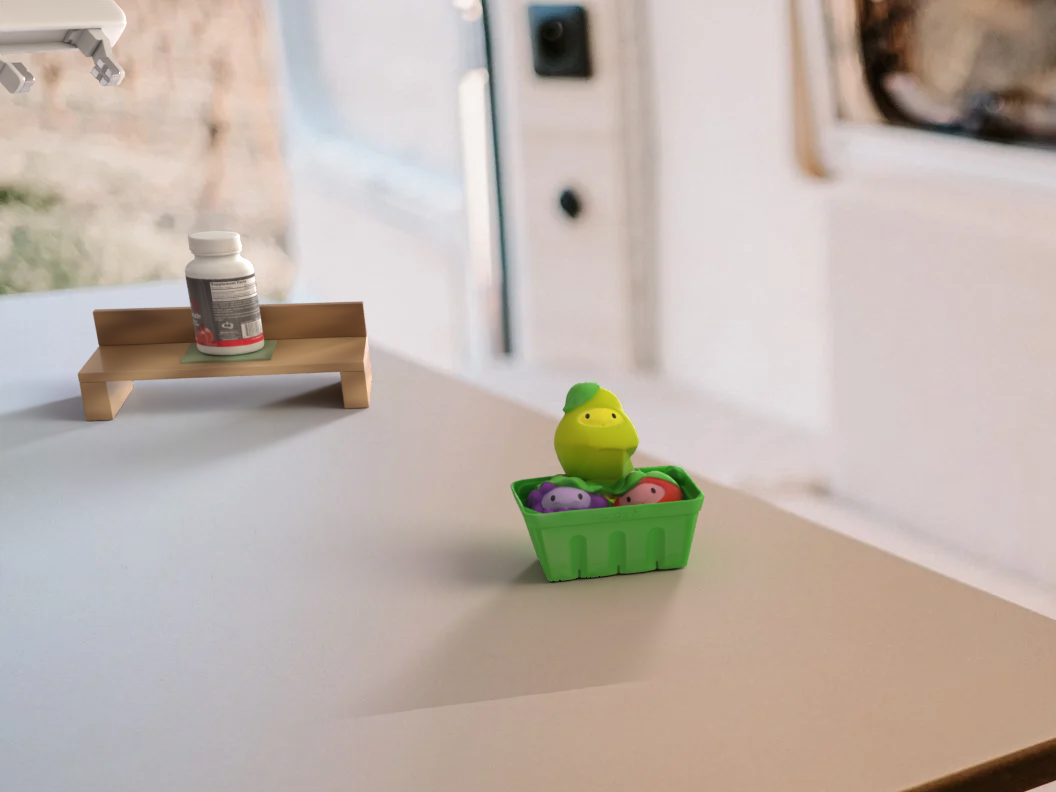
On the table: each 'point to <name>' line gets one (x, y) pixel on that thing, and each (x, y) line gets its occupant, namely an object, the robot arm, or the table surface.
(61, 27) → the robot arm
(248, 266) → the pill bottle
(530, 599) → the table surface
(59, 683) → the table surface
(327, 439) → the table surface
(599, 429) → the fruit basket
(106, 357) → the bench
